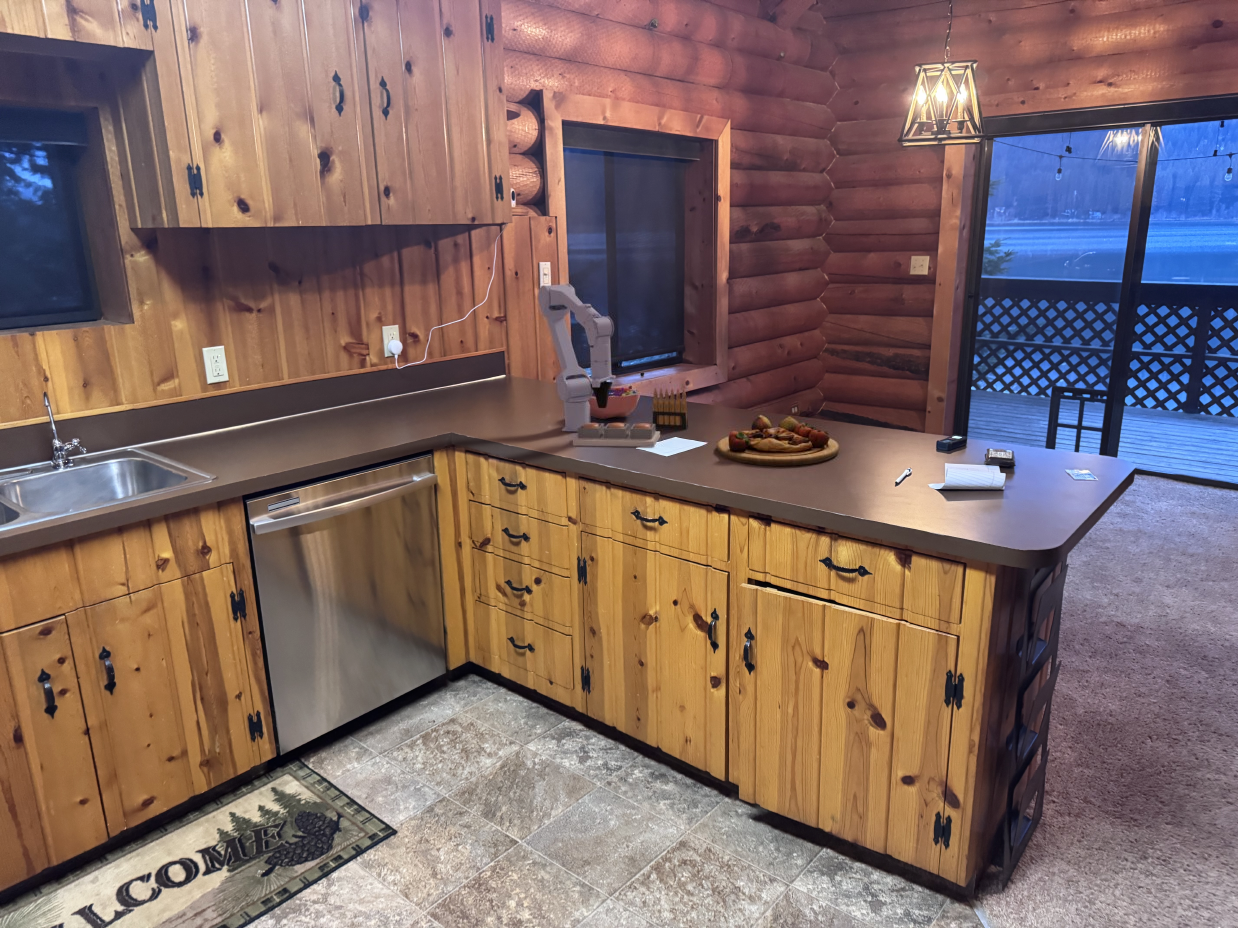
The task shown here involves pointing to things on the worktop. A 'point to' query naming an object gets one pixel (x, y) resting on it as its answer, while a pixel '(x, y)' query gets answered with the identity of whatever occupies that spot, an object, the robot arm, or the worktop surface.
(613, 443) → the plate
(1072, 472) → the worktop surface
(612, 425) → the centre knob
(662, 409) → the ammunition clip
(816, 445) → the wooden plate with food
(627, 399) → the cell model
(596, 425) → the end knob
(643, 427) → the knob
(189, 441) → the worktop surface
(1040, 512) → the worktop surface
